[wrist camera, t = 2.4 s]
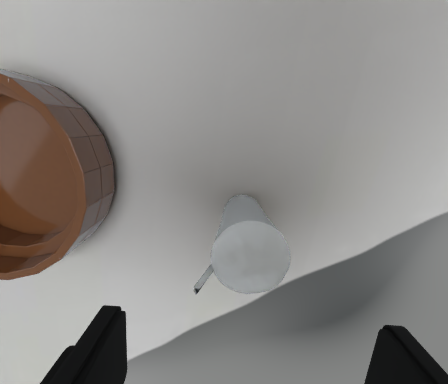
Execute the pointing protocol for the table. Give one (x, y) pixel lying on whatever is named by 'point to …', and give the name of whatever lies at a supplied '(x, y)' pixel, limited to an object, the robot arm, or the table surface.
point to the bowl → (47, 175)
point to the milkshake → (247, 249)
